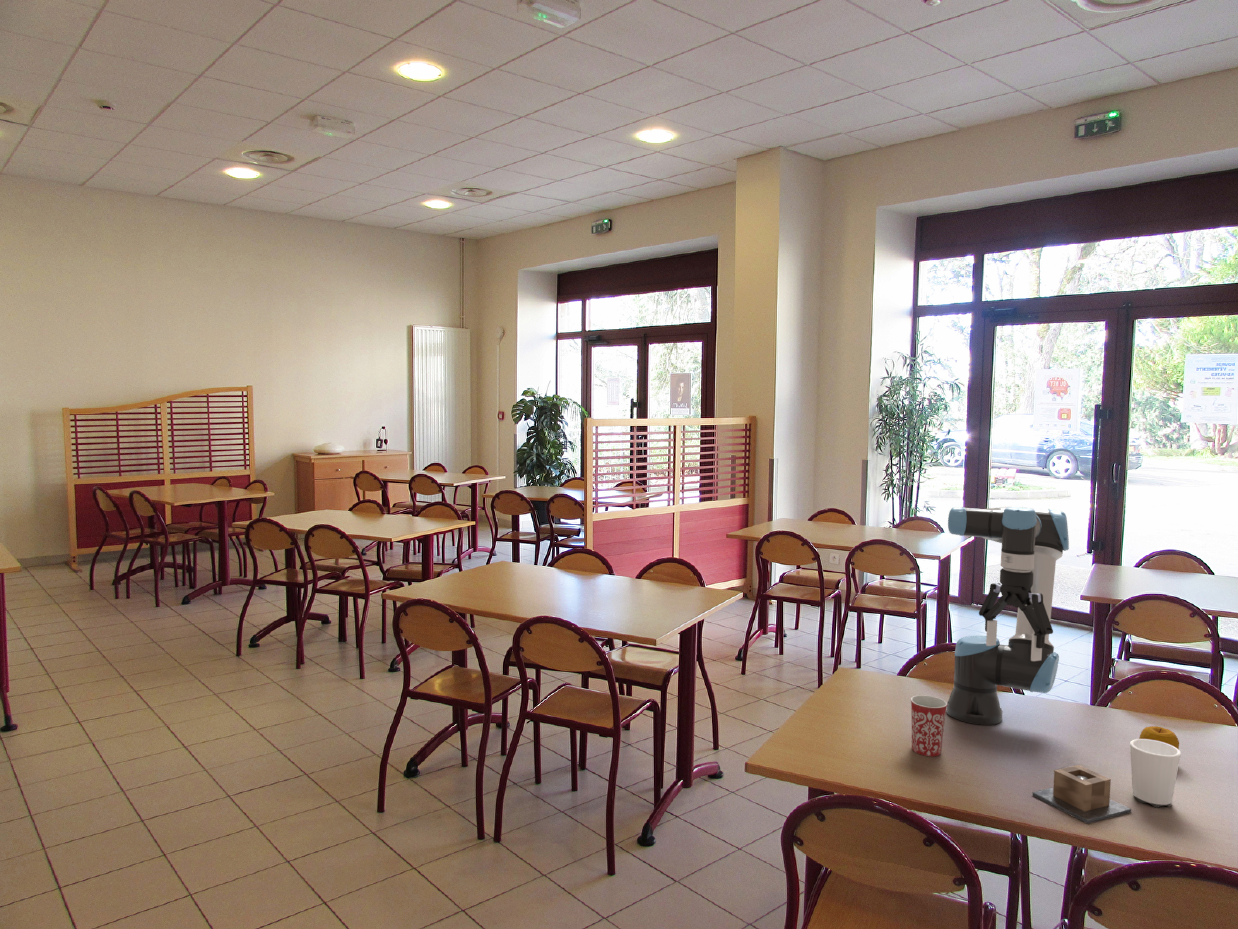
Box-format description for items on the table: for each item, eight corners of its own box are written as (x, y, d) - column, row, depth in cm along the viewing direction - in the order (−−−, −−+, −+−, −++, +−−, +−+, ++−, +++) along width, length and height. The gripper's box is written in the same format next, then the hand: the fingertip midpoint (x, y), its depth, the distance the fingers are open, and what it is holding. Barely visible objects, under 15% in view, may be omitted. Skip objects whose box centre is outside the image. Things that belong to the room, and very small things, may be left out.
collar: (1053, 795, 188) (1054, 770, 188) (1077, 789, 191) (1078, 765, 191) (1084, 811, 181) (1086, 785, 180) (1109, 805, 184) (1110, 779, 183)
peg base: (1074, 785, 195) (1075, 761, 195) (1131, 812, 182) (1132, 786, 182) (1032, 795, 190) (1033, 770, 189) (1087, 824, 177) (1088, 797, 176)
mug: (947, 760, 208) (949, 708, 208) (910, 756, 211) (912, 705, 210) (940, 741, 221) (942, 692, 220) (905, 737, 223) (907, 689, 222)
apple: (1141, 764, 207) (1143, 731, 207) (1134, 752, 215) (1136, 719, 215) (1181, 770, 204) (1183, 736, 204) (1172, 757, 212) (1174, 724, 211)
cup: (1170, 795, 191) (1173, 742, 190) (1184, 814, 182) (1187, 759, 181) (1121, 788, 194) (1124, 736, 193) (1132, 806, 185) (1136, 752, 184)
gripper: (966, 561, 214) (963, 640, 215) (1049, 580, 191) (1045, 669, 192) (987, 559, 217) (984, 638, 218) (1072, 578, 194) (1067, 665, 195)
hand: (1012, 652), depth 205 cm, fingers open, 13 cm apart
